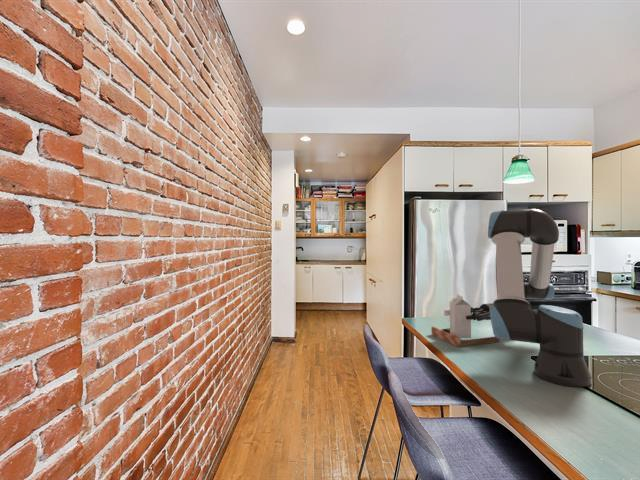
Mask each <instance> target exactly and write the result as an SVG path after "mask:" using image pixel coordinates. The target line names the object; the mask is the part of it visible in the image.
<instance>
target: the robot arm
mask: <svg viewBox="0 0 640 480" xmlns="http://www.w3.org/2000/svg"><path fill="white" fill-rule="evenodd" d="M559 236H560V231H559V227H558V225H557V223H556V221H555V220H554V218H553V217H552V216H551V215H550V214H548V213H547V212H545V211H543V210H541V209H538V208H537V209H536V208H527V209H513V210H512V209H511V210H495V211H492V212H491V213H490V214H489V219H488V228H487V238H488V239H491V242H492V243H493V244H494V245H495V249H496V250H495V251H496V255H495V256H496V258H495V259H496V278H497V279H496V283H497V298H496V299H494V300H493V302H490V303H482V304H481V305H480V306H479V307H473V306H471V313H470V314H460V315H459V321H466V320H471V321H477V322H481V321H484V320H485V321H490V323H491V328H492V334H493V335H494V337H497V338H499V340H500V339H501V340H506V341H509V342H510V341H515V342H524V343H530V344H539V351H538V355H537V357H536V359H535V362H534V365H533V370H534V371H533V372H534V374H535V375H537V377H539V378H540V379H543V380H545V381H547V382H550V383H554V384H557V385H560V386H565V387H573V388H574V387H575V388H585V387H589V386H591V385H592V375H591V373H590V371H589V368H588V366H587V365H588V364H587V363H586V360H585V357H584V356H585V355H584V328H585V327H584V322H583V316H582V315H581V314H580V313H579V312H577V311H575V310H572V309H569V308H565V307H561V306H557V305H548V304H540V305H539V306H538V308H537V309H535V308H531V303H530V302H529V301H528V300H527V299H530V300H531V299H532V300H543V301H544V300H548V301H549V300H551V301H552V300H553V299H555V286H554V284H553V283H550V282H551V273H552V268H553V267H552V266H553V259H554V252H555V244H557V243H558V241H559ZM526 238H529V240H530V242H531V243H532V244H531V258H530V270H529V271H530V272H529V282H524V273H523V272H524V270H523V259H522V257H523V256H522V246H521V245H522V244H523V243H524V242H525V241H526ZM443 313H444V314H443V315H444V317H447V316H449V317H450V308H448V309H444V310H443Z"/></svg>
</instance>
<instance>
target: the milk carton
mask: <svg viewBox="0 0 640 480" xmlns="http://www.w3.org/2000/svg"><path fill="white" fill-rule="evenodd" d="M471 307H472V306H471V305H470V304H469V303H468V302H467V301H466V300H464V297H463V296H462V295H460V294H458V293H457V294H456V296H455V297H453V298H452V299H451V300H450V301H449V309H450V316H449V328H450V334H453V335H455V336H458V337H460V339H472V320H466V321H459V315H460V314H470V313H471Z"/></svg>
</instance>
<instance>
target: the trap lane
mask: <svg viewBox="0 0 640 480" xmlns="http://www.w3.org/2000/svg"><path fill="white" fill-rule="evenodd" d="M431 335H432V336H434V337H436V338H437V339H441V340H442V339H443V340H442V341H444V342H447V343H449V344H451V345H454V346H455V347H458V348H460V347H461V348H462V347H469V346H477V345H478V346H479V345H486V344H493V343H499V341H500V339H499V338H497V337H495V336H490V337H481V338H471V339H465V340H461V338H460V337H458V336H455V335H453V334H450V327H449V328H438V327H436V326H431Z"/></svg>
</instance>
